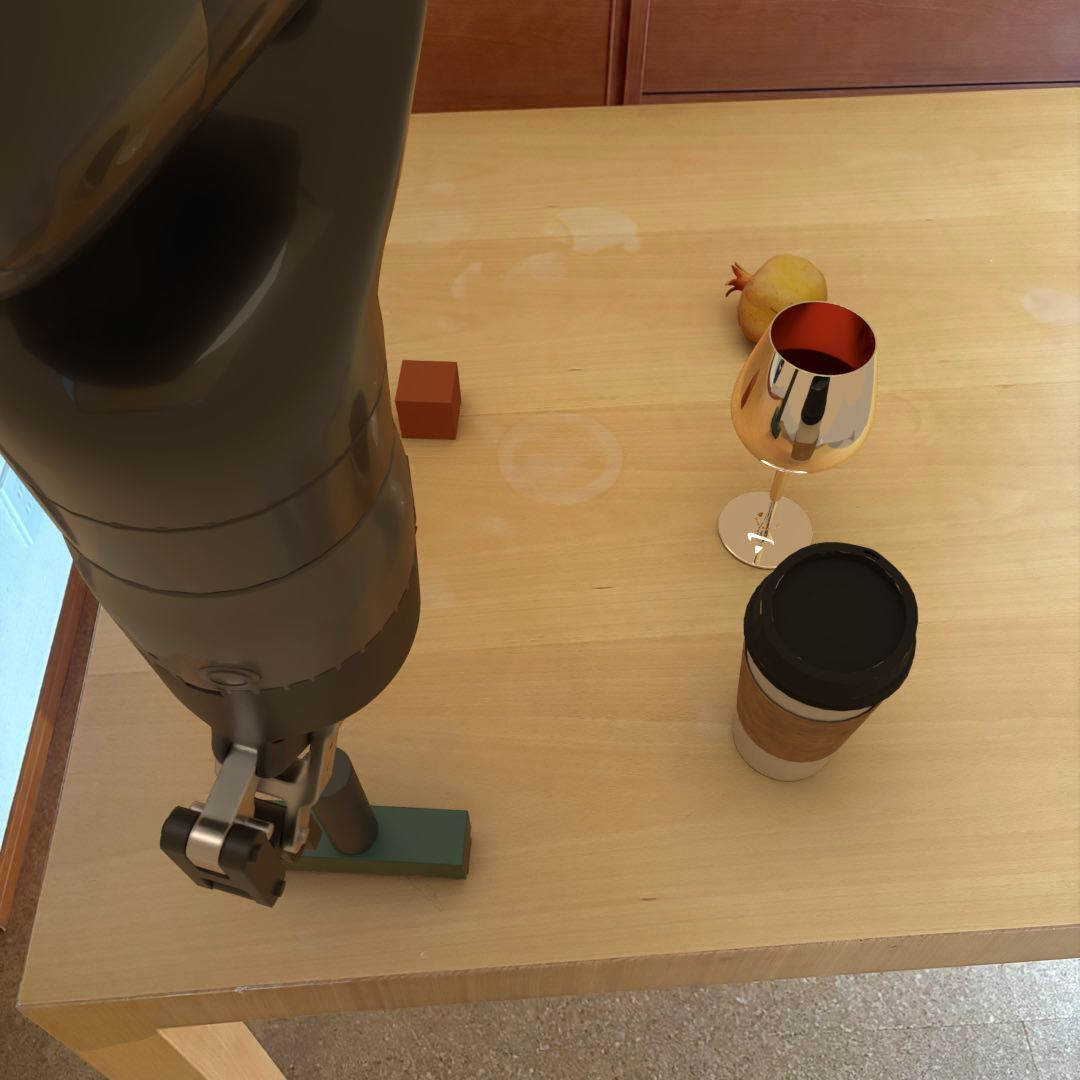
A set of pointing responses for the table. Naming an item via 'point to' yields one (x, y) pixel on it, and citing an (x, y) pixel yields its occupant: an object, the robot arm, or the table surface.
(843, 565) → the coffee cup
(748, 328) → the fruit
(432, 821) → the wiper
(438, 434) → the rust-brown cube
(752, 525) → the wineglass
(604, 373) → the table surface
